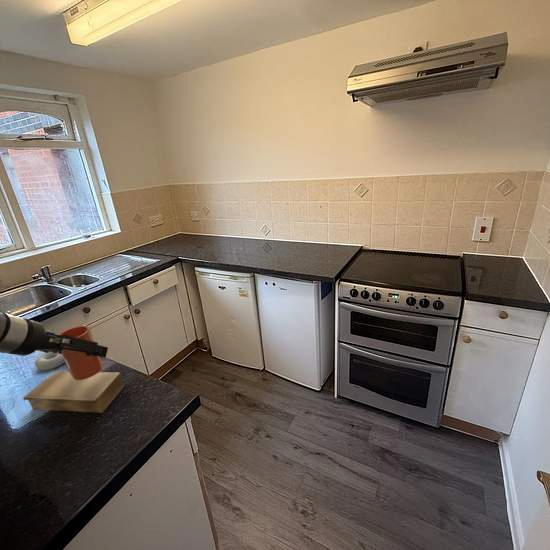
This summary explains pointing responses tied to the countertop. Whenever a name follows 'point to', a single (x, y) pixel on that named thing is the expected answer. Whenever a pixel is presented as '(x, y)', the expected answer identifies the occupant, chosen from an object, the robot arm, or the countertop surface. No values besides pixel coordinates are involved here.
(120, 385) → the wooden block
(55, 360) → the donut
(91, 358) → the cup
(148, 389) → the countertop surface
